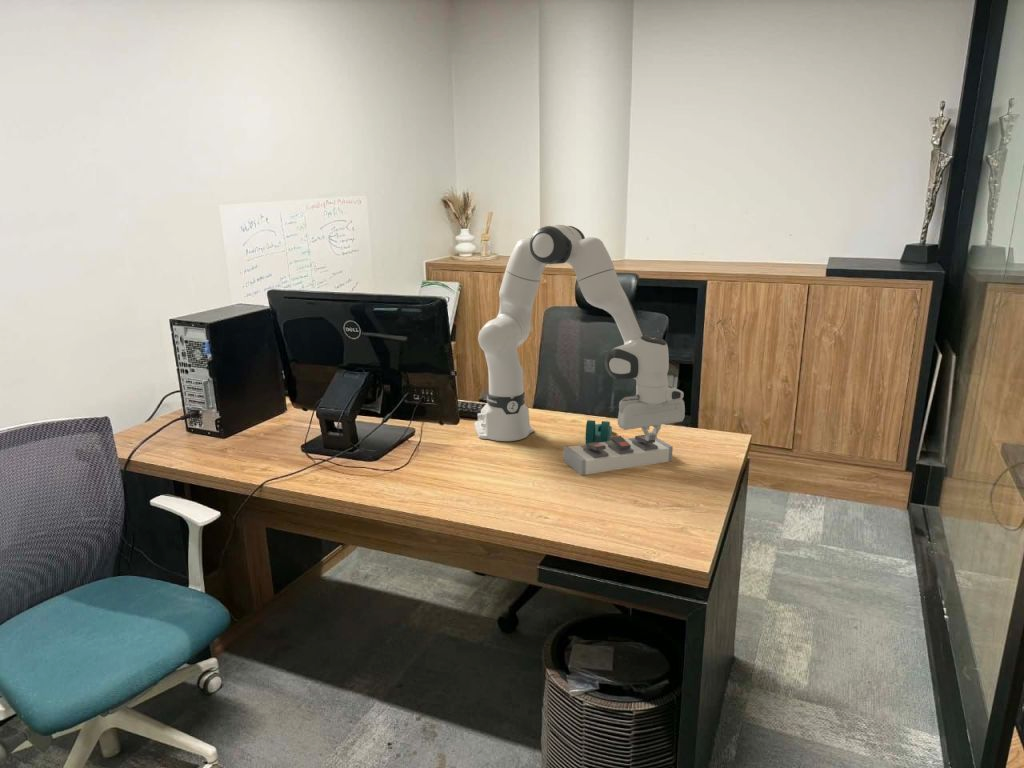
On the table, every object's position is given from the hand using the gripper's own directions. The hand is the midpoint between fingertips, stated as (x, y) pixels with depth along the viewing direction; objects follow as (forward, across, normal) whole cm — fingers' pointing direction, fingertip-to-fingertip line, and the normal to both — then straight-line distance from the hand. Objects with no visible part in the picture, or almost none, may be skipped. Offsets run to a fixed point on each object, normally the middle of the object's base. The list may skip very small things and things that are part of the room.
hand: (650, 439), depth 201 cm
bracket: (+7, -4, +23) cm, 25 cm away
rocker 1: (0, -16, +3) cm, 16 cm away
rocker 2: (+1, -8, +3) cm, 9 cm away
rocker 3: (+1, 0, +3) cm, 3 cm away
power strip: (+7, -8, +4) cm, 11 cm away
